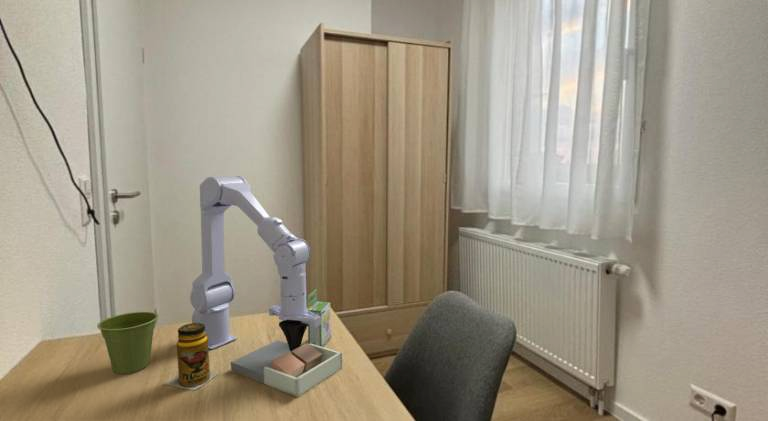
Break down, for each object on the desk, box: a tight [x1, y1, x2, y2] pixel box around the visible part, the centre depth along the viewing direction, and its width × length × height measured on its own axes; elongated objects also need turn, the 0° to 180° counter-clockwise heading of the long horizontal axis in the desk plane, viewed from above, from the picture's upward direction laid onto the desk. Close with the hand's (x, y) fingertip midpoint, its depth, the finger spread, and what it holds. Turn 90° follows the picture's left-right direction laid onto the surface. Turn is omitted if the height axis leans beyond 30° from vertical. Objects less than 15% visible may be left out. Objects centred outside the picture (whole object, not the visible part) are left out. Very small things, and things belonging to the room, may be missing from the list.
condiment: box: [163, 322, 220, 391], centre depth 89 cm, size 7×8×12 cm
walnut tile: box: [291, 342, 323, 372], centre depth 94 cm, size 5×5×2 cm
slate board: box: [230, 339, 291, 384], centre depth 96 cm, size 11×14×2 cm
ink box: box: [306, 288, 332, 347], centre depth 107 cm, size 7×4×13 cm, turn 168°
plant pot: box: [96, 311, 159, 375], centre depth 95 cm, size 12×12×11 cm
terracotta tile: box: [270, 352, 305, 377], centre depth 89 cm, size 5×5×2 cm
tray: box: [263, 343, 343, 398], centre depth 90 cm, size 10×14×4 cm
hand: (295, 350), depth 96 cm, fingers closed
